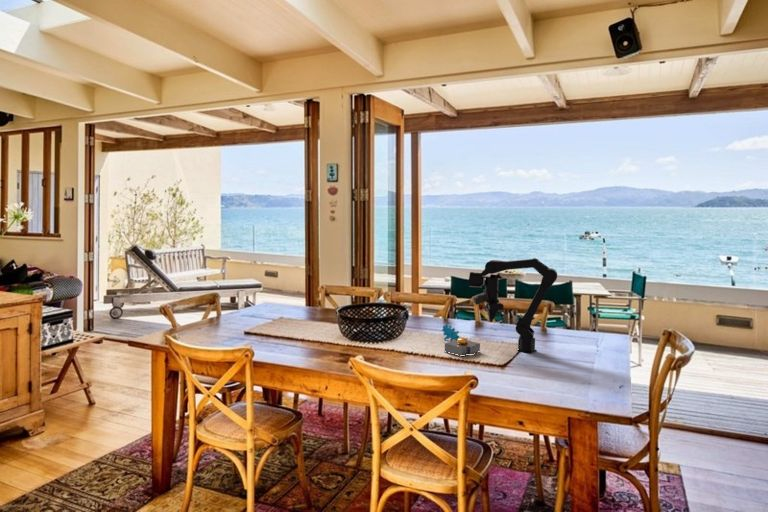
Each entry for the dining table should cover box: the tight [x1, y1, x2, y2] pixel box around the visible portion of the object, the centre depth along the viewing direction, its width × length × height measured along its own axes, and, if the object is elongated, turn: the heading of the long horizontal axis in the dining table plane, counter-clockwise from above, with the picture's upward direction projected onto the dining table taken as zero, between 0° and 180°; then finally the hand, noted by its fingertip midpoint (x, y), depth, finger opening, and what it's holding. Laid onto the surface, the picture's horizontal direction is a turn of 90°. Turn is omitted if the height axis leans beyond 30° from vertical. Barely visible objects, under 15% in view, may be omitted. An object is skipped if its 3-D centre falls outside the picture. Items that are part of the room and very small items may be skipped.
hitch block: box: [444, 339, 481, 355], centre depth 217 cm, size 12×12×4 cm
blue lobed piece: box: [441, 324, 460, 341], centre depth 238 cm, size 11×6×10 cm
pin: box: [457, 337, 468, 345], centre depth 217 cm, size 4×4×6 cm
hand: (490, 321), depth 224 cm, fingers closed
